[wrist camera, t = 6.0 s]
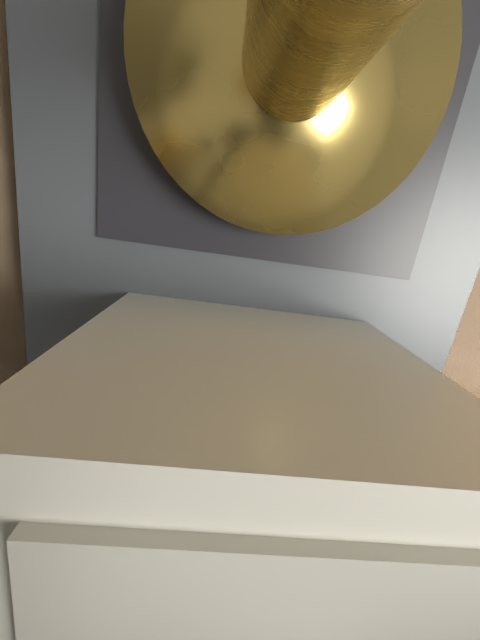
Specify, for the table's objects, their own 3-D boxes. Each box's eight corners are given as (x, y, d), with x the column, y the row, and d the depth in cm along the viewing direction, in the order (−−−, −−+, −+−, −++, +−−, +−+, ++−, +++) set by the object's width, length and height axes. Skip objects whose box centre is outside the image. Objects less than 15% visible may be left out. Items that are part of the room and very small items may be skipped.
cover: (301, 567, 10) (381, 925, 5) (118, 558, 9) (-4, 945, 4) (367, 321, 7) (654, 519, 2) (128, 292, 7) (-111, 463, 2)
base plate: (362, 552, 10) (371, 574, 10) (49, 534, 10) (36, 557, 9) (576, -78, 6) (621, -116, 5) (14, -223, 5) (-17, -291, 4)
